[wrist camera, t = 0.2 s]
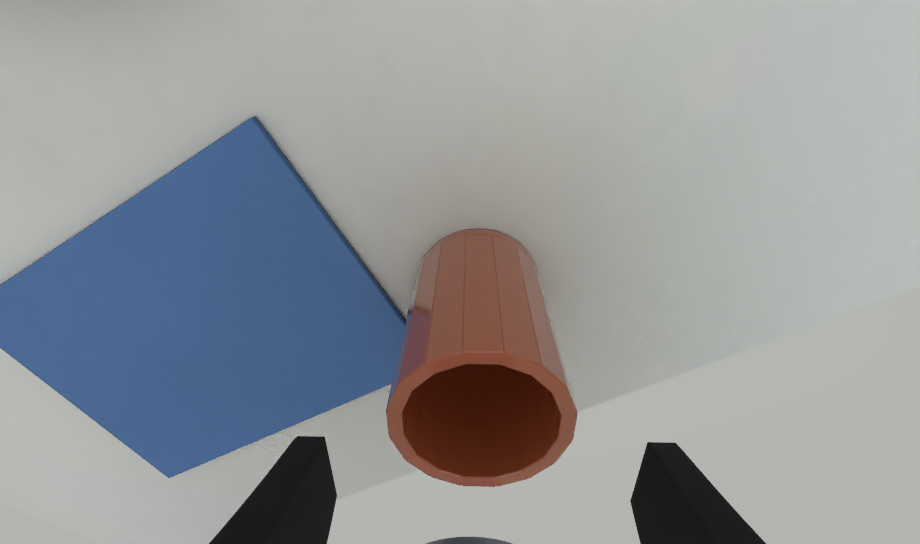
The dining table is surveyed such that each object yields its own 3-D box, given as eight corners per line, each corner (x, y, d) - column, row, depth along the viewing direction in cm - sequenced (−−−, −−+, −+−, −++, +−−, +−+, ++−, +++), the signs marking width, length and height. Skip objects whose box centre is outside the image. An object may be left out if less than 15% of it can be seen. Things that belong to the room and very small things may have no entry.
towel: (256, 115, 16) (250, 117, 16) (435, 360, 22) (434, 365, 21) (-36, 309, 21) (-44, 314, 20) (172, 472, 26) (168, 478, 26)
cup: (532, 333, 21) (564, 488, 14) (420, 331, 21) (393, 485, 14) (543, 228, 18) (588, 352, 11) (414, 227, 18) (378, 350, 11)
